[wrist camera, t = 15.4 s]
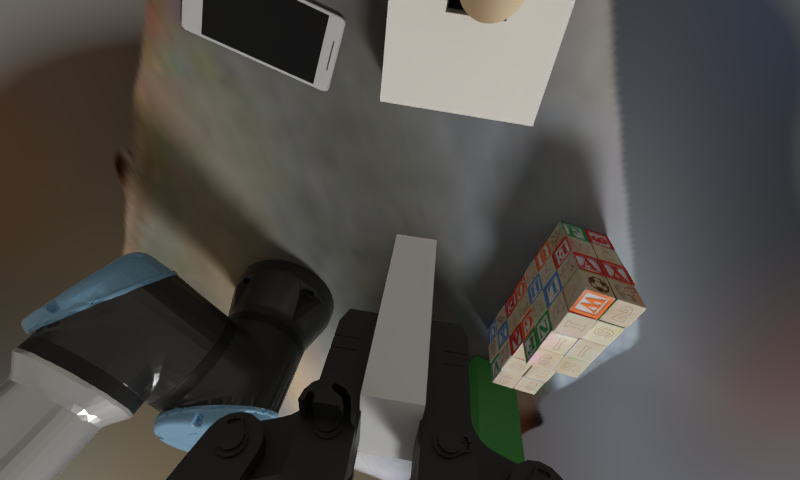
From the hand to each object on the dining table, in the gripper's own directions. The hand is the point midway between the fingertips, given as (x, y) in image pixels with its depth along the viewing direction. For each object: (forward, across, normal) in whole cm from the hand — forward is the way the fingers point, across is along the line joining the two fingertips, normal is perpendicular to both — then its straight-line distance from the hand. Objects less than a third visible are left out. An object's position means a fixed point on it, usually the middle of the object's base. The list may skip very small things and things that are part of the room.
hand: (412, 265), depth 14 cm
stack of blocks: (+29, -18, +24) cm, 41 cm away
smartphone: (+29, +18, -4) cm, 34 cm away
